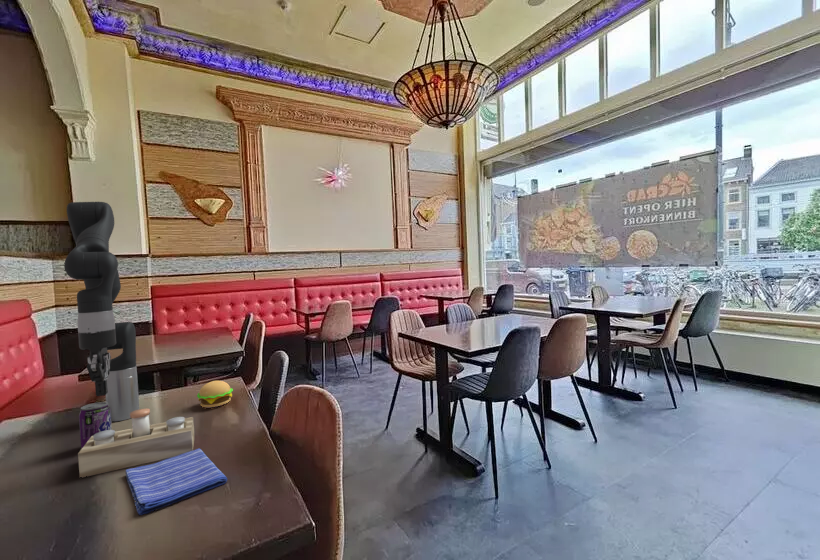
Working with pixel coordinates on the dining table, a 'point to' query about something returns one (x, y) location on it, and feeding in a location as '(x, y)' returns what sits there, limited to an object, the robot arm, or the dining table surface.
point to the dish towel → (173, 480)
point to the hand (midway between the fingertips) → (102, 395)
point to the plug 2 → (175, 423)
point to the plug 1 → (104, 437)
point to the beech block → (135, 448)
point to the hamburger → (215, 394)
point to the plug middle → (140, 422)
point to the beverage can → (94, 420)
